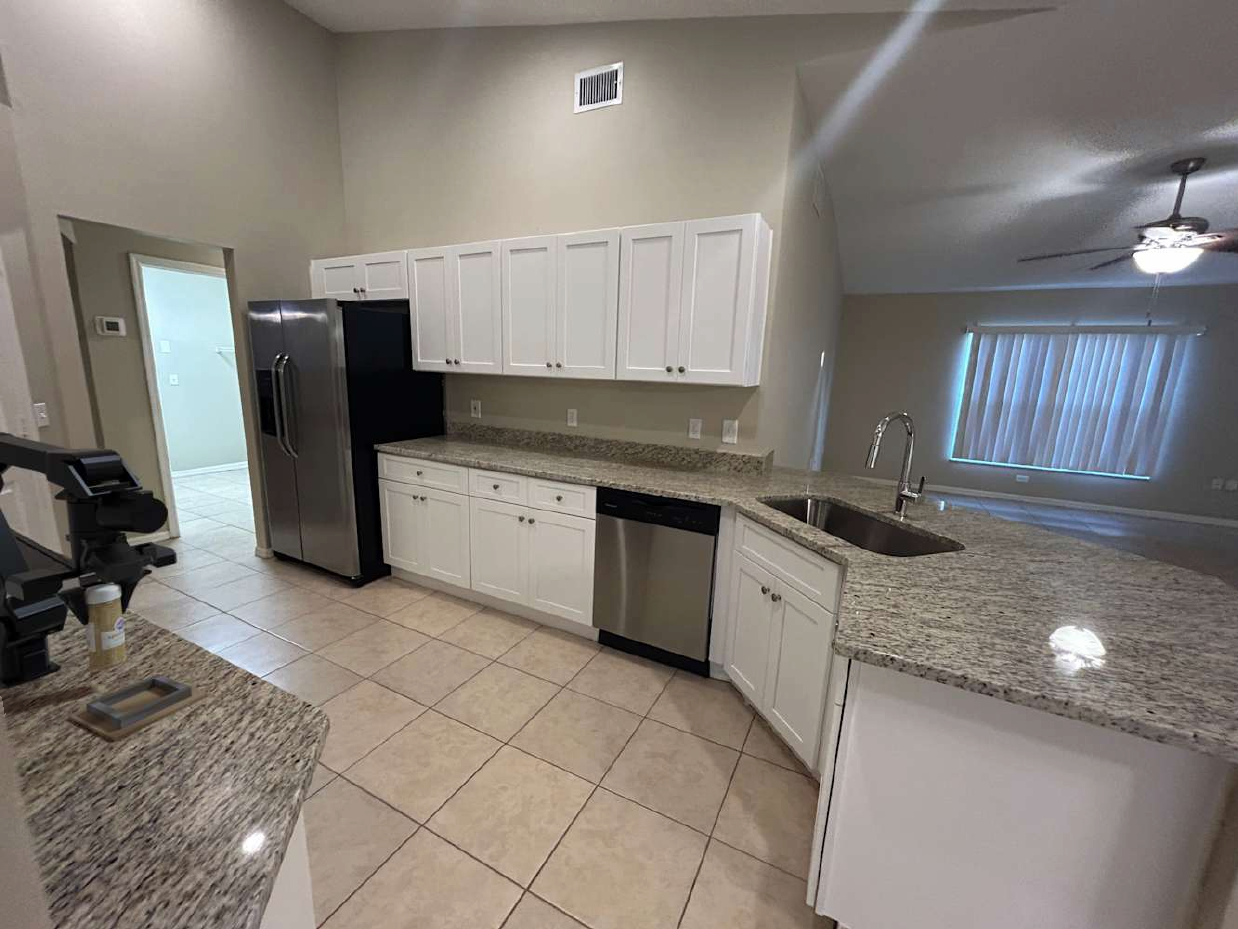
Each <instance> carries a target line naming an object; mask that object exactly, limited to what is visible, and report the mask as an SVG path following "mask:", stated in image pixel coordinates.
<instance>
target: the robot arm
mask: <svg viewBox="0 0 1238 929" xmlns="http://www.w3.org/2000/svg"><path fill="white" fill-rule="evenodd" d="M12 467H16V468H20V469H25V470H27V471H33V472H37V473H40V474H42V475H45V478H46V481H48V482H49V483H51V484H54V485H56V486H59V487H60V488H63V489H62V490H61V491H59V492H58V493H57V494H55V495H54V499H55V500H56V501H65V504H66V505H65V506H66V514H67V524H68V534H65V541H66V542H69V543H70V546H69V547H70V554H71V558H68V559H67V563H68V566H70V567H72V568H70V569H66V570H61V571H56V572H55V571H52V570H49V569H46V568H39V569H34V570H32V569H31V568H30V565H29V563H28V561H27V560H26V557H25V555H24V553H23V552H22V549H21V547H20V545H19V543H18V540H17V538H16V537H15V534H14V533H13V530H12V528H11V527H10V525H9V523H8V521H7V520H8V519H7V518H6V516H5V514H4V512H3V509H2V508H1V507H0V686H3V687H4V688H12V687H13V686H17V685H19V684H22V683H25V682H27V681H30V680H34V679H36V678H39V677H42V676H45V675H48V674H51V673H53V672H57V671H59V670H62V665H61V664H58V663H56V662H54V661H52V660H51V654H50V647H49V636H50V635H53V634H56V633H61V632H62V631H64V630H65V624H66V620H67V616H68V612H69V610H70V611H71V612H72V614H73V615H74V616H75V618H77V620H78V621H79V623H80V624H81V625H83V626H85V625H87V624H88V612H87V607H86V603H85V598H84V595H85V592H86V590H87V588H88V587H83V586H81V584H80V580H83V579H88V578H92V577H96V576H97V577H99V578H100V580H101V581H102V582H103V583H105V584H119V585H120V586H121V593H122V595H121V610H122V615H123V614H126V613H127V612H126V611H127V609H128V606H129V604H130V602H131V600H132V597H133V594H134V591H135V589H136V588H137V585H138V584H139V582H140V581H141V580H143V578H145V577H147V576H150V575H151V574H152V573H153V570H151V569H148V566H151V567H154V568H155V569H160V568H164V567H167V566H171V565H175V564H177V562H178V559H177V557H178V556H177V552H176V551H175V549H173V548H171V547H169V546H168V547H167V546H164V545H160V544H155V543H154V542H153V541H147V542H143V543H139V544H133V545H130V544H129V542H128V538H127V535H126V533H135V534H144V535H145V534H152V533H155V532H157V531H159V530H160V529H162V527H163V526H164V525H165V524H166V522H167V519H168V517H169V508H167V507H166V504H165V503H164V502H163V501H162V500H160V499H159V498H156V497H154V492H153V490H149V489H143V488H144V487H143V485H142V484H141V482H140V479H139V478H138V477H137V476H136V475H135V474H134V473H133V471H132V470H131V469H130V467H129V466H128V465H127V462H125V460H124V459H123V458H122V457H121V456H120V453H118V452H117V451H116V450H113V449H111V448H110V449H109V448H66V447H64V446H63V447H62V446H57V445H54V444H49V443H46V442H41V441H36V440H32V439H27V438H25V437H19V436H16V435H13V434H12V433H9V432H5V431H0V494H2V491H3V489H4V486H5V481H4V478H3V474H5V472H7V471H8V470H9V469H11V468H12Z"/></svg>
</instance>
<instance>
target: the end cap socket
mask: <svg viewBox="0 0 1238 929" xmlns="http://www.w3.org/2000/svg"><path fill="white" fill-rule="evenodd" d="M208 697H209V694H208V692H206V691H203V690H201V689H198V688H195V687H193V686H191V685H188V684H185V683H183V682H181V681H179V680H176V679H173V678H171V677H169V676H166V675H161V674H158V673H157V674H154V675H152V676H149V677H147V678H145V679H142V680H140V681H137V682H136V683H133V684H131V685H128V686H126V687H122V688H121V689H118V690H116V691H114V692H111V693H108V694H107V695H104V696H101V697H99V698H96V699H94V700H92V701H89V702H87V703H86V707H85V708H84V709H81V710H78V711H76V712H73V713H71V714H69V715H68V719H69V720H71V721H73V722H75V723H77V724H79V725H81V726H82V727H85V728H87V729H89V730H90V731H92V730H93V731H92V732H94V731H95V733H96V732H97V733H96V734H99V735H101V736H102V737H104V738H106V739H109V740H111V742H114V743H115V742H117V741H119V740H121V739H123V738H126V737H127V736H129V735H131V734H133V733H135V732H137V731H139V730H141V729H144V728H145V727H148V726H150V725H152V724H154V723H156V722H158V721H160V720H162V719H164V718H166V717H168V716H171V715H173V714H174V713H177V712H179V711H180V710H183V709H185V708H186V707H189V706H191V705H193V704H195V703H197V702H199V701H201V700H204V699H206V698H208Z"/></svg>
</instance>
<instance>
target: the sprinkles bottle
mask: <svg viewBox="0 0 1238 929" xmlns="http://www.w3.org/2000/svg"><path fill="white" fill-rule="evenodd" d="M86 588H87V590H86V592H85V595H84V598H85V603H86V607H87V612H88V624H87V625H84V627H85V635H86V647H87V651H88V658H89V665H88V667H89V669H91V670H93V671H95V670H96V671H97V670H98V671H100V670H108V669H110V668H114V667H116V666H117V667H118V665H121V664H123V663H124V662H125V661H127V659H128V655H127V652H126V634H125V626H124V618H123V614H122V610H121V595H122V593H121V586H120V585H119V584H114V583H103V584H97V585H94V586H93V585H92V586H90V587H86Z"/></svg>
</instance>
